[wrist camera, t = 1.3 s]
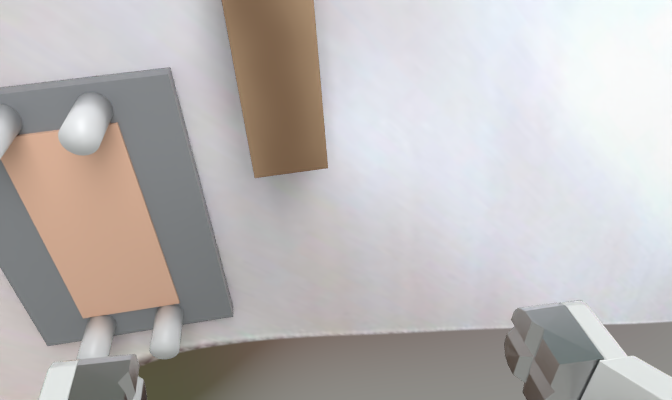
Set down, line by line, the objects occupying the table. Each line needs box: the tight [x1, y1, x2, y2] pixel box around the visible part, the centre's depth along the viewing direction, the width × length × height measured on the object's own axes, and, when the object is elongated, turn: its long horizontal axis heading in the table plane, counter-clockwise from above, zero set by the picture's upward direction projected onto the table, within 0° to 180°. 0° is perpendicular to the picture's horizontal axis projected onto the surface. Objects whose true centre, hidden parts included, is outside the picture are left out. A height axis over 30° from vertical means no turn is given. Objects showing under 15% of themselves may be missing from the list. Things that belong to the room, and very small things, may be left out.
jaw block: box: [222, 0, 328, 178], centre depth 28 cm, size 4×11×6 cm, turn 4°
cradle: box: [0, 67, 233, 360], centre depth 34 cm, size 14×20×4 cm
